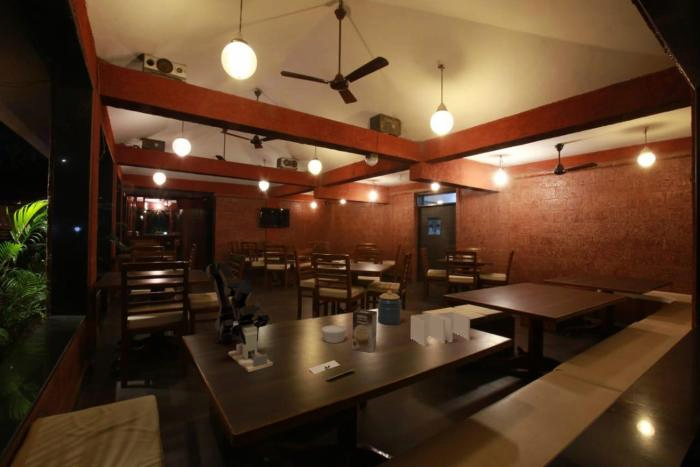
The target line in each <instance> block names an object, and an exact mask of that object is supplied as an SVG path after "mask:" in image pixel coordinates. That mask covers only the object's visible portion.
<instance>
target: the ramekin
mask: <svg viewBox="0 0 700 467" xmlns="http://www.w3.org/2000/svg"><path fill="white" fill-rule="evenodd" d="M321 332H322V338H323V340H324V342H326V343H328V344H337V343H342V342H344V340H345V339H346V332H347V327H345V326H344V325H343V326H342V325H339V324H337V325H336V324H334V325H333V324H331V325H326V326H323V327H322V328H321Z"/></svg>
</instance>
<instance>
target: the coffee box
mask: <svg viewBox="0 0 700 467" xmlns="http://www.w3.org/2000/svg"><path fill="white" fill-rule="evenodd" d="M377 322H378V310H377V311H376V310H370V309H362V308H357V309H355V310H354V311H352V336H351V337H352V342H351V343H352V344H351V347H352V348H351V350H355V351H359V352H360V351H361V352H365V353H370V354H372V353H373V352H374V351H375V350H376V349H377V332H378V331H377V327H378V326H377V324H378V323H377Z"/></svg>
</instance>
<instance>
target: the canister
mask: <svg viewBox="0 0 700 467" xmlns="http://www.w3.org/2000/svg"><path fill="white" fill-rule="evenodd" d="M378 297H379V299H378V300H377V302H378V305H377V322H378V323H379V324H382V325H387V326H392V325H393V326H394V325H395V326H396V325H399V324H401V322H402V316H401V315H402V306H401V303H402V299H400V295H398V293H394V292H392V290H387V292H385V293H382V294H381V295H379V296H378Z"/></svg>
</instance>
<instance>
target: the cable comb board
mask: <svg viewBox="0 0 700 467" xmlns="http://www.w3.org/2000/svg"><path fill="white" fill-rule="evenodd" d="M251 352H252V350H251ZM261 355H262V354H261V353H260V352H258V351H257V356H261ZM228 356H230V357H231V358H232V359H233V360H235V361H236V362H237V363H238V365H240V366H241V367H242V368H244V369H245V370H246V371H248V373H250V372H253V371H258V370H261V369H264V368H267V367H271V366H273V364H274V362H273V361H272V360H270V359H268V358H267V364H264V365H260V366H257V367H253V358H252V357H251V356H250V355H248V359H245V358H244V357H243V354H239V353H237V352H236V350H235V349H234V350H231V351H228Z"/></svg>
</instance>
